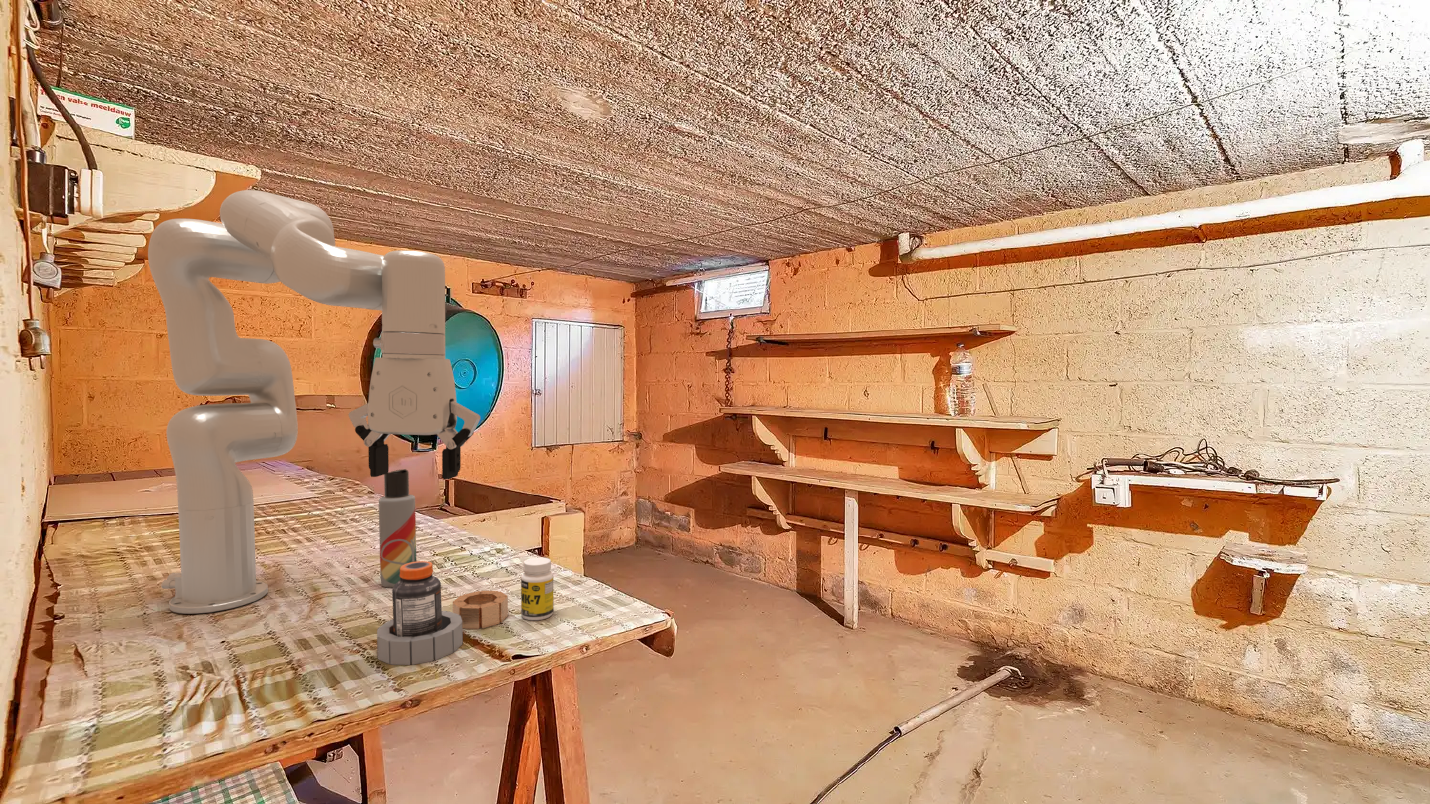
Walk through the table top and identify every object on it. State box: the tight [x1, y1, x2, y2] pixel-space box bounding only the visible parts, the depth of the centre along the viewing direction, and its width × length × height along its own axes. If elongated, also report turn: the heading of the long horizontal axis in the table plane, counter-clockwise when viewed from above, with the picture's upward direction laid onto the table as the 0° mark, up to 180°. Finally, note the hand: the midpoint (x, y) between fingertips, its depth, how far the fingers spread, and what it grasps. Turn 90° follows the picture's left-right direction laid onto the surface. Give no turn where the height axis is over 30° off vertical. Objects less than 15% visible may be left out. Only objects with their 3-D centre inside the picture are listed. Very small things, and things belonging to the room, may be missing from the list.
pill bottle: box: [391, 560, 443, 637], centre depth 86 cm, size 6×6×11 cm
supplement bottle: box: [520, 556, 555, 621], centre depth 97 cm, size 5×5×8 cm
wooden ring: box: [452, 590, 509, 630], centre depth 96 cm, size 7×7×3 cm
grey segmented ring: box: [376, 610, 464, 666], centre depth 86 cm, size 10×10×3 cm
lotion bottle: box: [378, 468, 417, 589], centre depth 111 cm, size 6×6×20 cm
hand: (414, 476), depth 85 cm, fingers open, 9 cm apart
